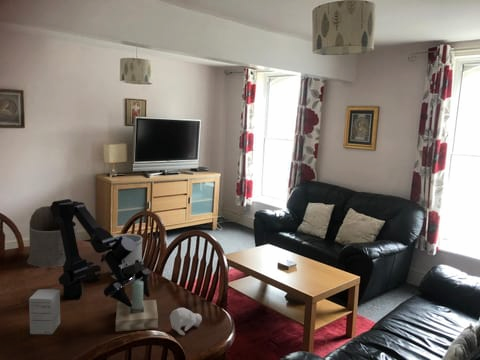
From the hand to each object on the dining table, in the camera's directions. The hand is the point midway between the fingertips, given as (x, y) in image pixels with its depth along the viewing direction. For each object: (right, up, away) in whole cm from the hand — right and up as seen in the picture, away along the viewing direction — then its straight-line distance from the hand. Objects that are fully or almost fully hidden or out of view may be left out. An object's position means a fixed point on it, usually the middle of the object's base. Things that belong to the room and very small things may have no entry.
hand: (140, 301), depth 137 cm
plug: (-2, -7, +2) cm, 7 cm away
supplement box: (-30, -7, -7) cm, 32 cm away
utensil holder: (-18, -1, +41) cm, 45 cm away
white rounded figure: (+17, -9, -2) cm, 20 cm away
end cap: (-32, -1, +34) cm, 47 cm away
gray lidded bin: (-55, +3, +53) cm, 76 cm away
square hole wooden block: (-2, -7, +2) cm, 8 cm away
